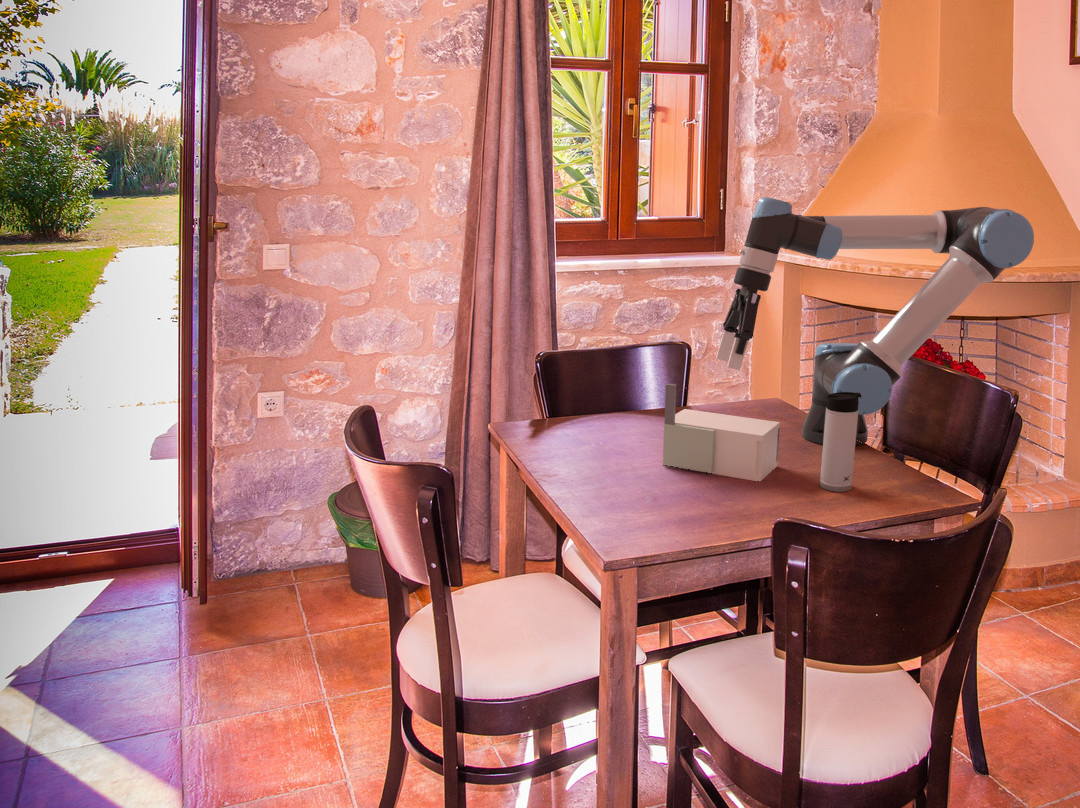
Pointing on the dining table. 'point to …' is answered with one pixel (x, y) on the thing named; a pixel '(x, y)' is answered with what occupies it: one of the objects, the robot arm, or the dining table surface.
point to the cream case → (738, 443)
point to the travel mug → (839, 441)
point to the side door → (685, 440)
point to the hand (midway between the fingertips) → (727, 364)
